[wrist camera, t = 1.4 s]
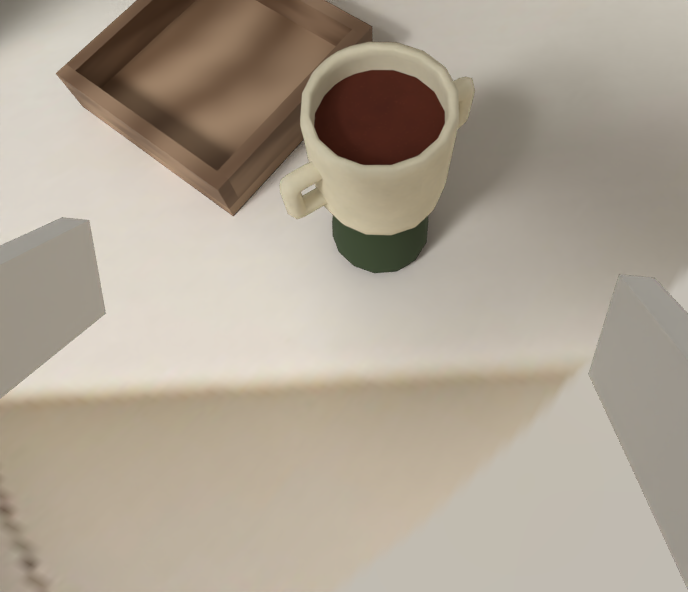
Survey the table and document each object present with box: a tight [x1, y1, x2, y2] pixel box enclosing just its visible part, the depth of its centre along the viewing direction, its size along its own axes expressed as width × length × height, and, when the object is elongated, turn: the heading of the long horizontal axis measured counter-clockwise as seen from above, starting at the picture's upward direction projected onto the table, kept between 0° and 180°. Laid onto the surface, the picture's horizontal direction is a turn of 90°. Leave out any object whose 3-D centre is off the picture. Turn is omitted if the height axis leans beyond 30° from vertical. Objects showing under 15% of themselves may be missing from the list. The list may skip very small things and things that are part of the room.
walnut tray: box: [56, 0, 372, 216], centre depth 38 cm, size 16×16×4 cm
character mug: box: [280, 42, 475, 273], centre depth 29 cm, size 11×7×13 cm, turn 121°
